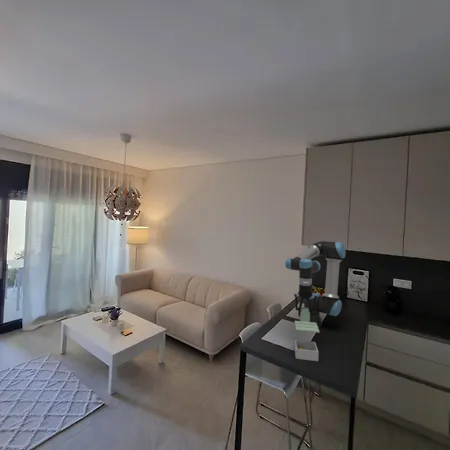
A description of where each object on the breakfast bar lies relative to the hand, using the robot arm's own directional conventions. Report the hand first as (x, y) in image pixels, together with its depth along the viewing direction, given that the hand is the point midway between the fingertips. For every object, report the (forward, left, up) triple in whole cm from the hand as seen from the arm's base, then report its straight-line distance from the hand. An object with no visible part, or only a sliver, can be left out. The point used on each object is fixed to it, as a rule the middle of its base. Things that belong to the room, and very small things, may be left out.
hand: (304, 321), depth 158 cm
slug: (+8, -3, -15) cm, 18 cm away
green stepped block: (+7, 0, 0) cm, 7 cm away
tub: (+11, 0, -16) cm, 19 cm away
